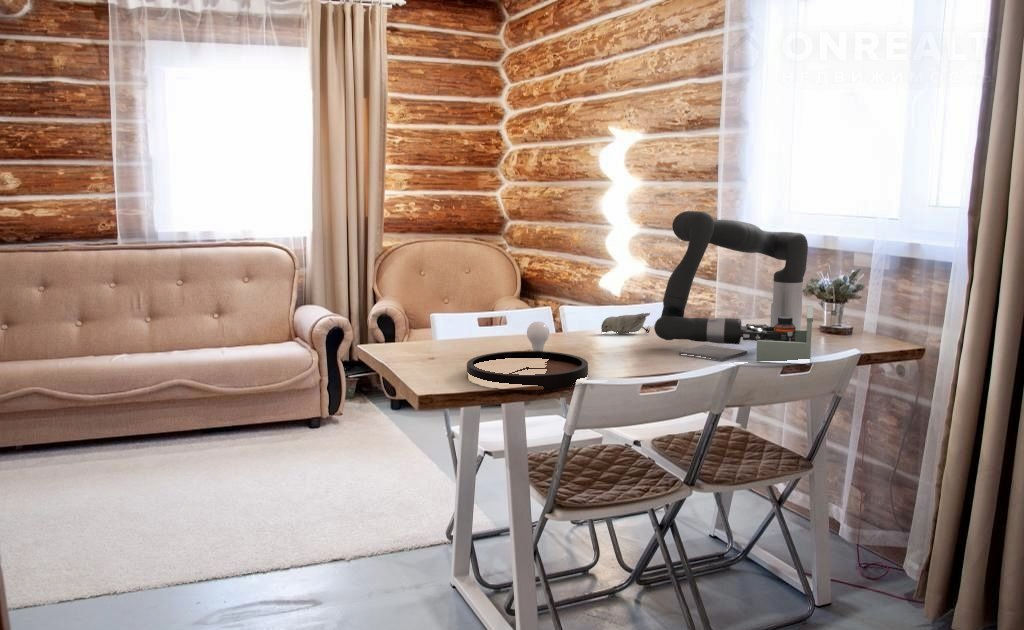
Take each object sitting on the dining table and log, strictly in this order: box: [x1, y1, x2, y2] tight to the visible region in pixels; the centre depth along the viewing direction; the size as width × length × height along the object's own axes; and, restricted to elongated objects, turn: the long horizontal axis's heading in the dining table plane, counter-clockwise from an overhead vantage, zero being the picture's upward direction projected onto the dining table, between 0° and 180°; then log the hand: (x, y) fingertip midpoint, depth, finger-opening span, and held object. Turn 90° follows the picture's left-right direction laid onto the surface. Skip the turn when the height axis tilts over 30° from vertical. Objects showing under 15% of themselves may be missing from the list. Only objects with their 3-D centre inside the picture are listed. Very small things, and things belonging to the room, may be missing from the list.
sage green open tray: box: [755, 306, 814, 366], centre depth 245 cm, size 14×22×13 cm, turn 161°
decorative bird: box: [601, 312, 652, 334], centre depth 283 cm, size 5×16×7 cm, turn 90°
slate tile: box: [679, 344, 748, 362], centre depth 249 cm, size 14×14×1 cm
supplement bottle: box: [773, 316, 796, 342], centre depth 246 cm, size 6×6×11 cm
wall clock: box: [466, 350, 589, 391], centre depth 222 cm, size 31×4×31 cm
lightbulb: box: [526, 321, 550, 351], centre depth 242 cm, size 6×6×11 cm
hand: (781, 333), depth 246 cm, fingers open, 8 cm apart
